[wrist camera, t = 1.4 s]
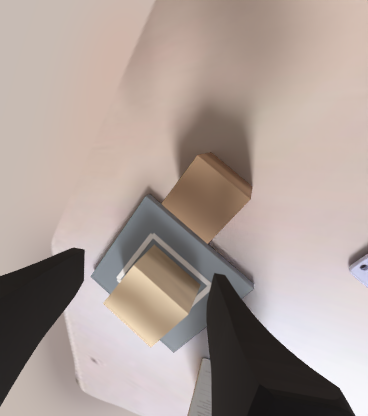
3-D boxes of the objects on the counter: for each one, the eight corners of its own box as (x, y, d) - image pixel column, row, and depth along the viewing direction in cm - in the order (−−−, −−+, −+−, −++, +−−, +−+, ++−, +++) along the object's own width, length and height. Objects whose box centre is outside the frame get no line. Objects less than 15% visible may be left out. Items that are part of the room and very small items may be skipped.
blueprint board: (149, 194, 21) (145, 196, 21) (253, 283, 21) (253, 289, 20) (95, 272, 27) (89, 277, 26) (176, 346, 26) (173, 353, 25)
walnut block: (211, 152, 19) (197, 155, 15) (252, 186, 18) (250, 199, 14) (180, 191, 21) (161, 204, 16) (218, 223, 20) (207, 244, 16)
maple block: (154, 244, 22) (133, 264, 18) (200, 285, 22) (188, 314, 18) (126, 279, 24) (103, 303, 21) (167, 316, 24) (150, 347, 20)
